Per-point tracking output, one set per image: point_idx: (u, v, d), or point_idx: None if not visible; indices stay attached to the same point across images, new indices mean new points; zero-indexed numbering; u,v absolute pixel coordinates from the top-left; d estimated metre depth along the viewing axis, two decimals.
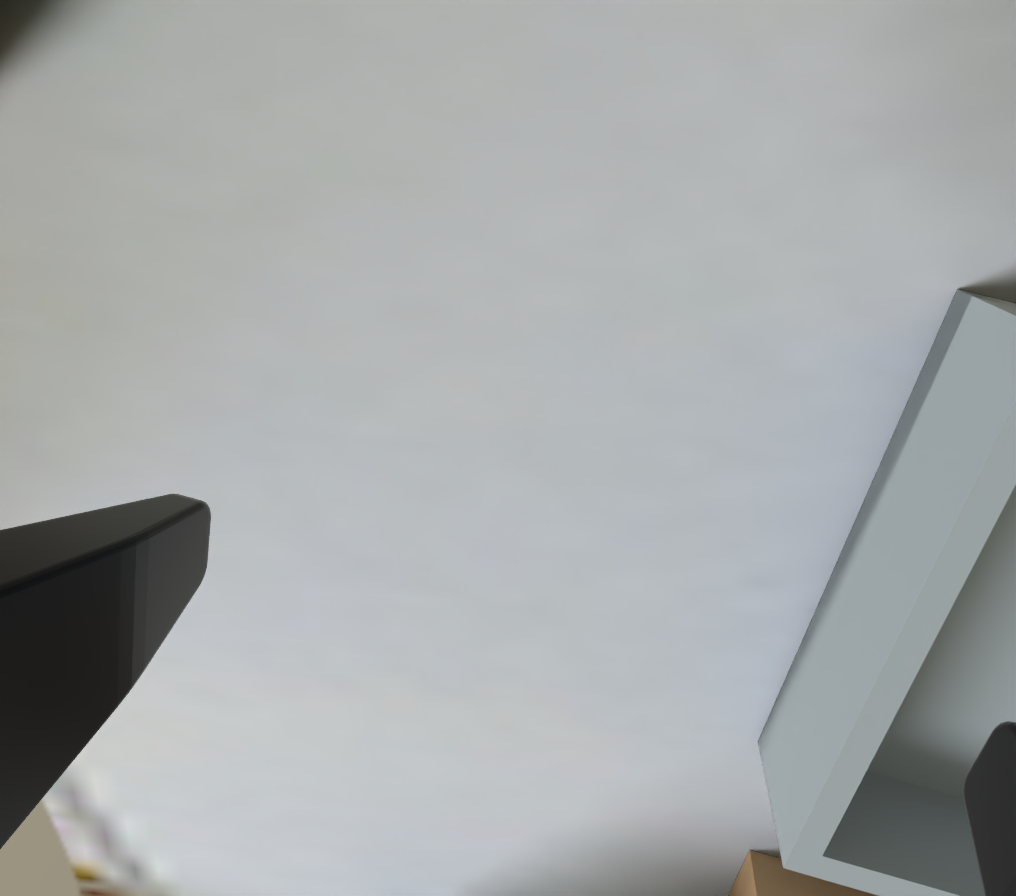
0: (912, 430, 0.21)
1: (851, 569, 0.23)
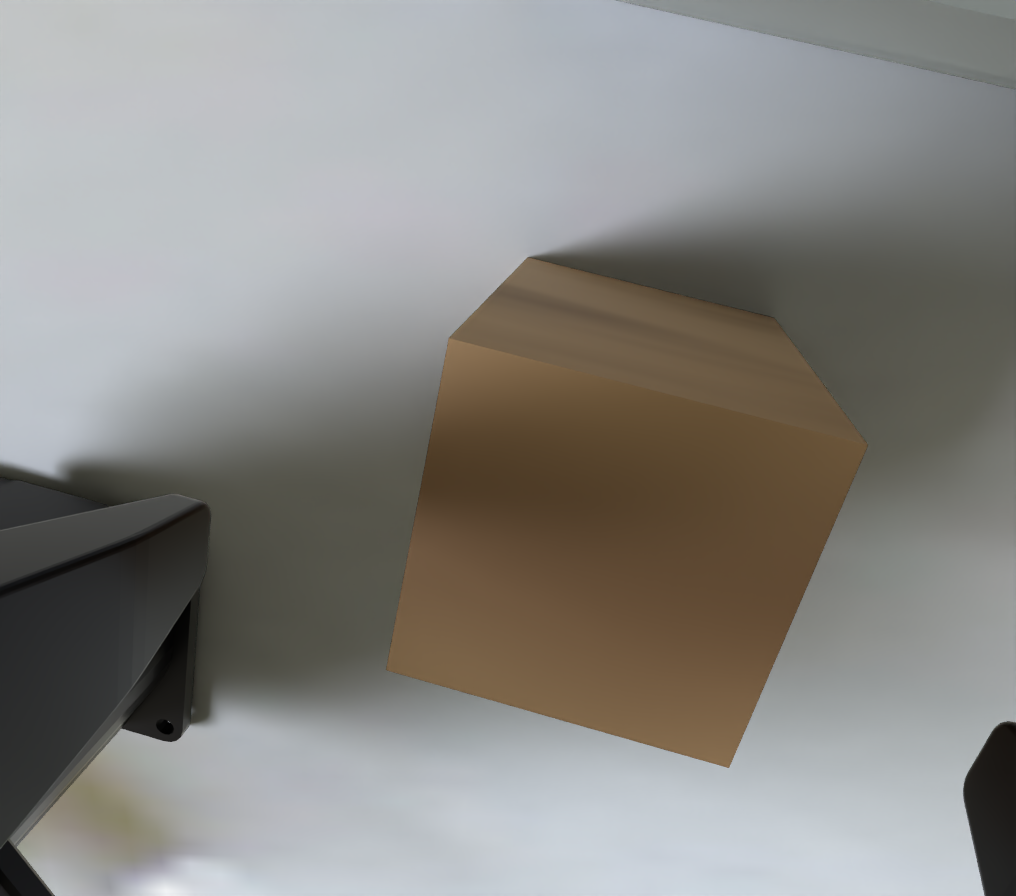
0: None
1: None
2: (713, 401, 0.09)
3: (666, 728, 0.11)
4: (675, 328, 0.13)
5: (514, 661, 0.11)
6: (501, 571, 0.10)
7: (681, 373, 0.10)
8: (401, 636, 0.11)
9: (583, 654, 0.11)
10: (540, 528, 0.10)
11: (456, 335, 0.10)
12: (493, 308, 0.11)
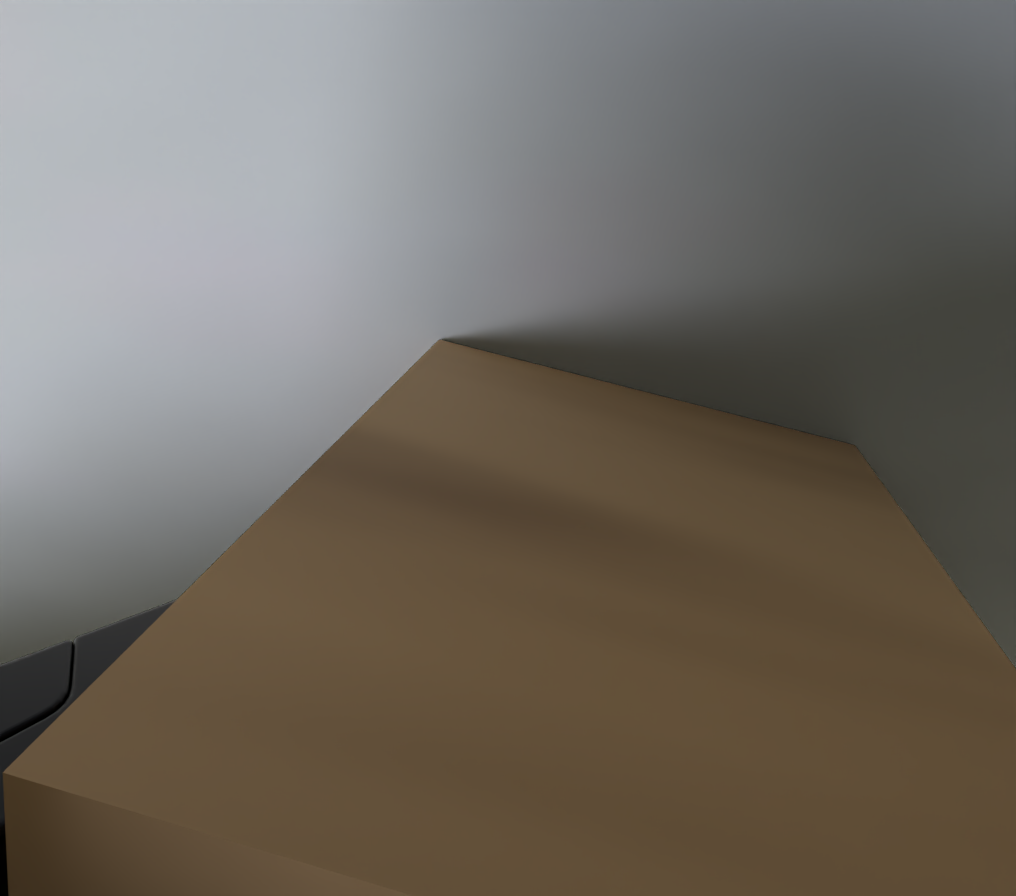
0: None
1: None
2: None
3: None
4: (695, 526, 0.06)
5: None
6: None
7: (728, 774, 0.04)
8: None
9: None
10: None
11: (51, 740, 0.03)
12: (279, 534, 0.05)
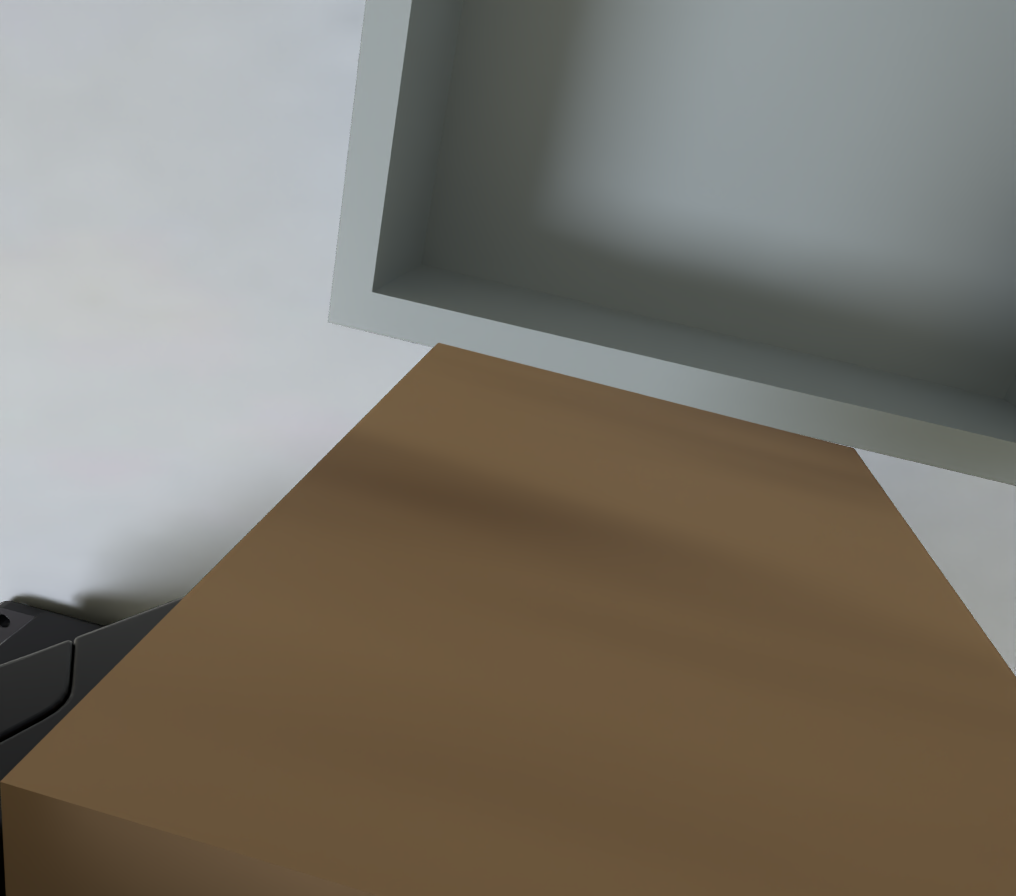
0: None
1: None
2: None
3: None
4: (693, 530, 0.06)
5: None
6: None
7: (725, 781, 0.04)
8: None
9: None
10: None
11: (48, 748, 0.03)
12: (277, 540, 0.05)
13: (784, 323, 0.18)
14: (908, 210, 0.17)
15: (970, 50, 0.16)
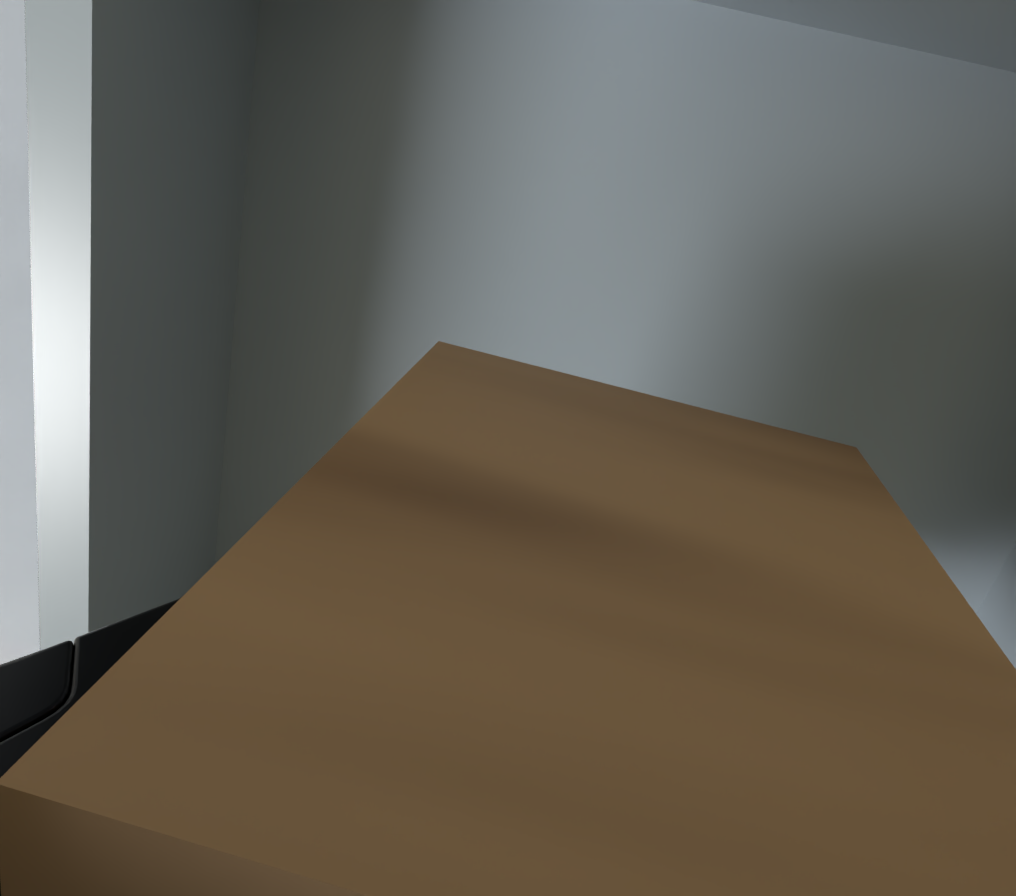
0: None
1: None
2: None
3: None
4: (696, 529, 0.06)
5: None
6: None
7: (730, 782, 0.04)
8: None
9: None
10: None
11: (45, 749, 0.03)
12: (277, 539, 0.05)
13: None
14: None
15: None
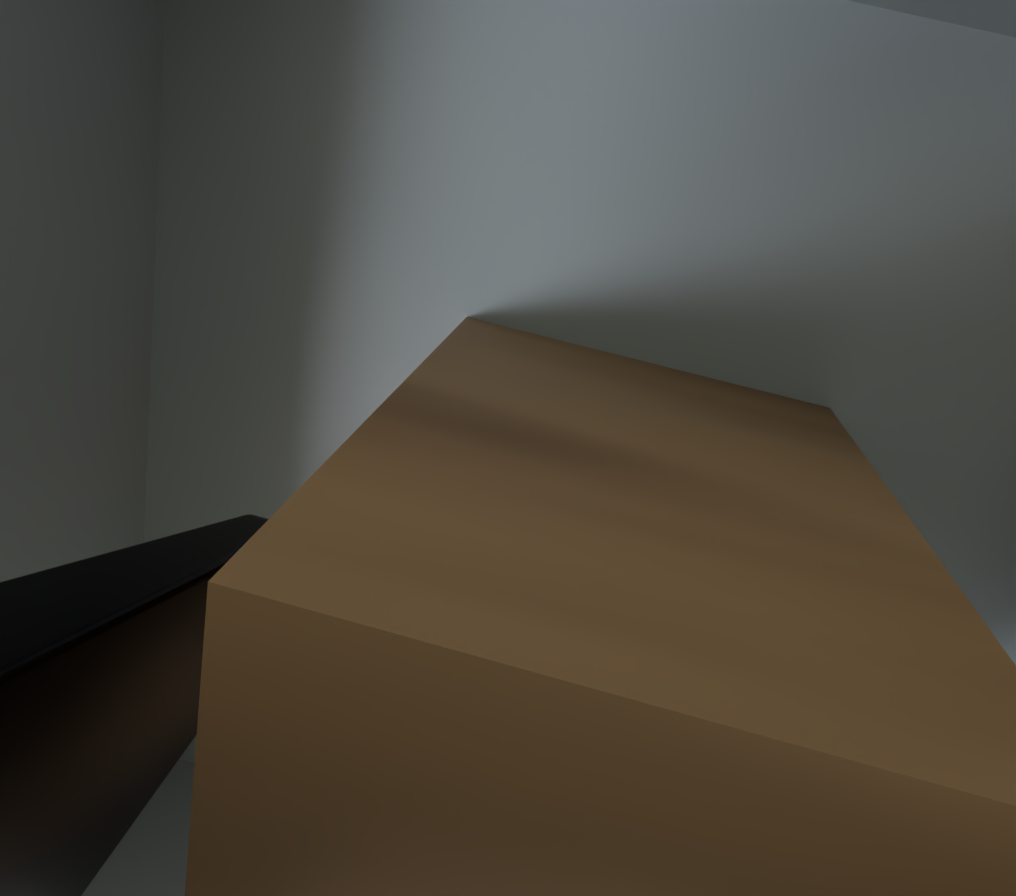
0: None
1: None
2: (786, 724, 0.04)
3: None
4: (688, 460, 0.08)
5: None
6: None
7: (709, 612, 0.05)
8: None
9: None
10: None
11: (233, 566, 0.04)
12: (361, 453, 0.06)
13: None
14: None
15: None
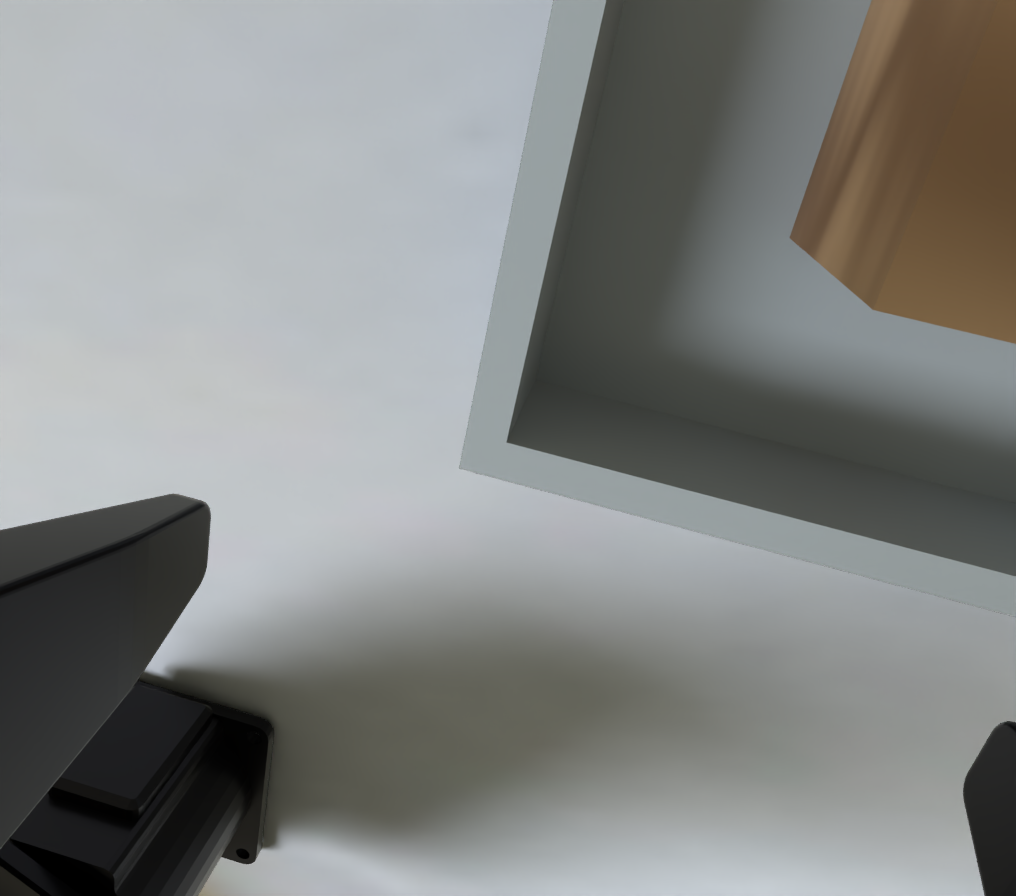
0: None
1: None
2: None
3: None
4: None
5: None
6: None
7: None
8: (902, 263, 0.10)
9: None
10: None
11: None
12: None
13: (910, 451, 0.18)
14: None
15: None
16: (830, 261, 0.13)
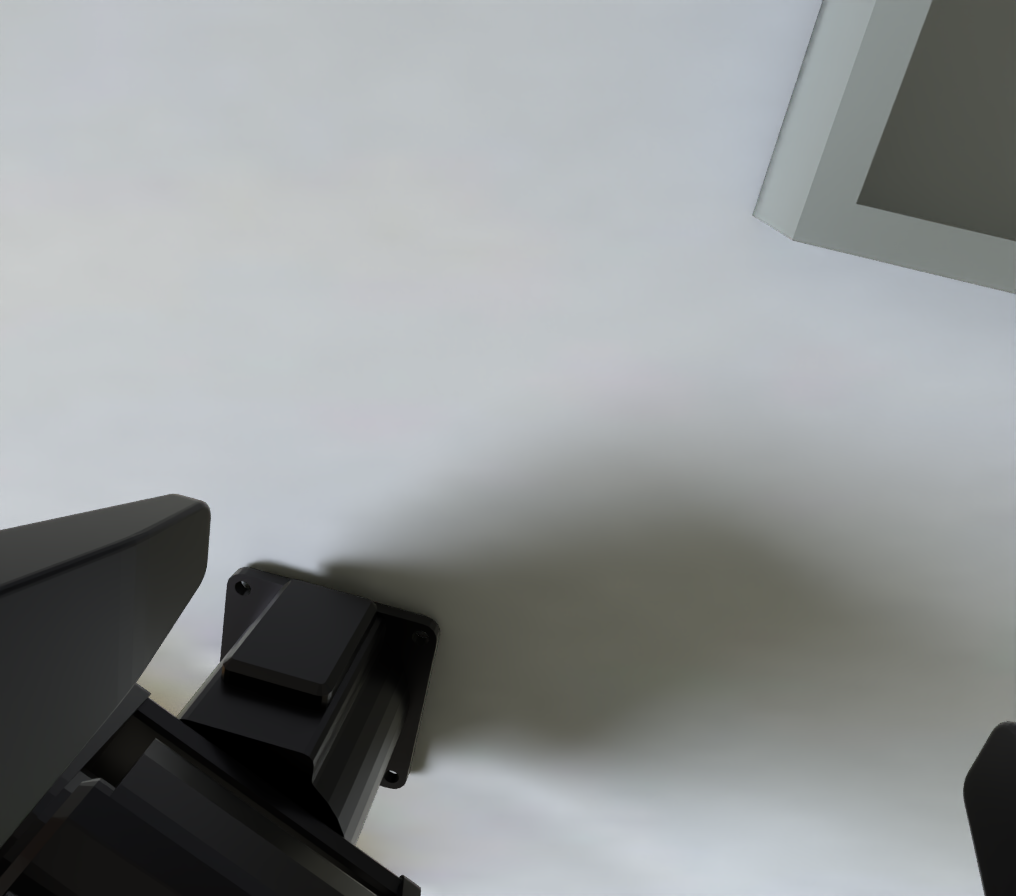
0: None
1: None
2: None
3: None
4: None
5: None
6: None
7: None
8: None
9: None
10: None
11: None
12: None
13: None
14: None
15: None
16: None
